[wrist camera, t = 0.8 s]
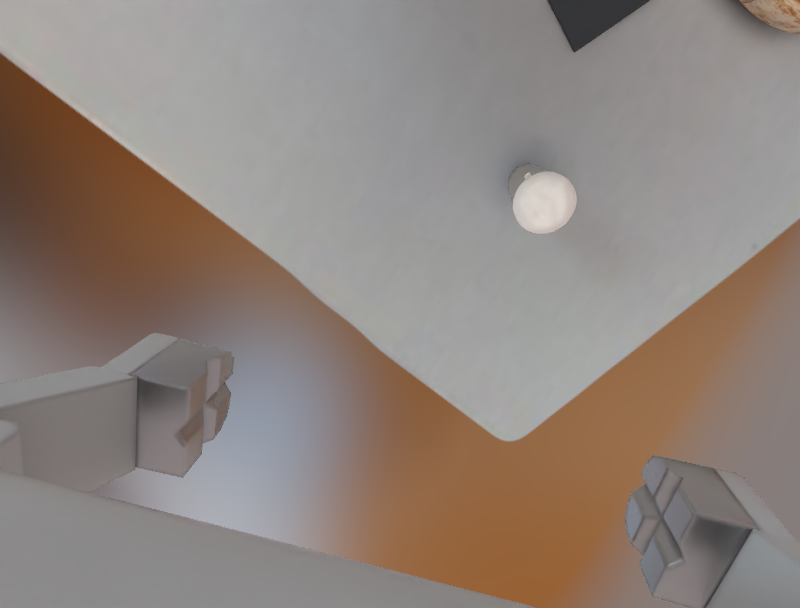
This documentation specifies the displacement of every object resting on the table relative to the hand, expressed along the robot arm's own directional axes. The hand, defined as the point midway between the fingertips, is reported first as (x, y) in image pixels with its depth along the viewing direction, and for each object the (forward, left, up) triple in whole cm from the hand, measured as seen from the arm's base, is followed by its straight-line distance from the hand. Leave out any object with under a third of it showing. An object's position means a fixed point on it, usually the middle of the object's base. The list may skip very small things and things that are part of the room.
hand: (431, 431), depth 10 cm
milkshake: (+6, +5, -38) cm, 38 cm away
